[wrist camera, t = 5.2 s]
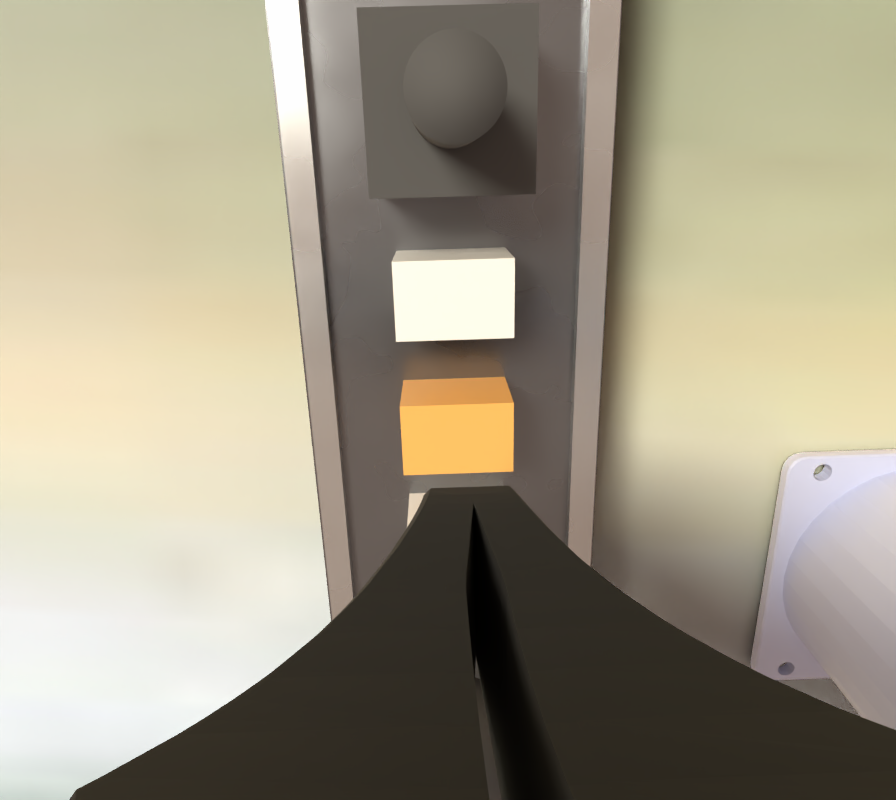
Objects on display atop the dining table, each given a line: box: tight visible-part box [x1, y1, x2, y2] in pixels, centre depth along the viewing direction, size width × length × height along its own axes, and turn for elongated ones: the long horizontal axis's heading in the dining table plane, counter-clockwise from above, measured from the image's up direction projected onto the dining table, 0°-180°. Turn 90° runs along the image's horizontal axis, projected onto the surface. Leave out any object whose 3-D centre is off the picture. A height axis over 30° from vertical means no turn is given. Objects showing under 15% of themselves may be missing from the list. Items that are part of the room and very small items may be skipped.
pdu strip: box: [265, 0, 622, 621], centre depth 17 cm, size 7×24×3 cm, turn 2°
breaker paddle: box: [392, 247, 515, 342], centre depth 14 cm, size 2×2×2 cm
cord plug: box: [356, 3, 539, 199], centre depth 11 cm, size 3×3×5 cm
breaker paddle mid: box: [400, 377, 514, 475], centre depth 15 cm, size 2×2×2 cm
